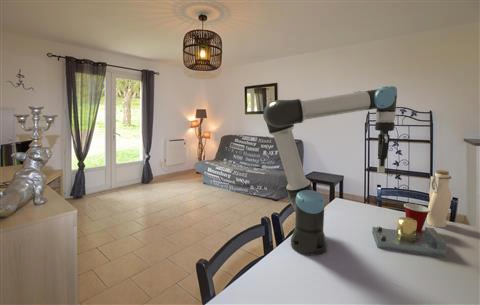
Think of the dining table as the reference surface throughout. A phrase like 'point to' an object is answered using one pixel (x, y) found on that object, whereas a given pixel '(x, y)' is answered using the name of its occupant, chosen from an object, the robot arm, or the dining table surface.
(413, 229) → the golden knob
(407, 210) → the plastic cup
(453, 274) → the dining table surface
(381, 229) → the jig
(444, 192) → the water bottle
